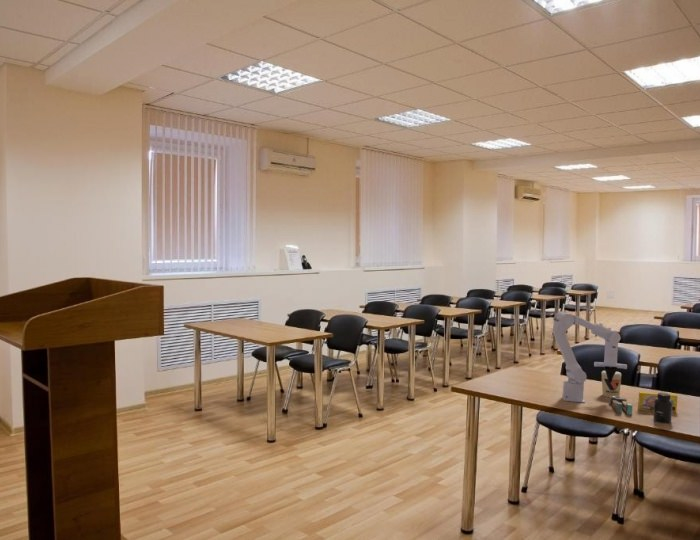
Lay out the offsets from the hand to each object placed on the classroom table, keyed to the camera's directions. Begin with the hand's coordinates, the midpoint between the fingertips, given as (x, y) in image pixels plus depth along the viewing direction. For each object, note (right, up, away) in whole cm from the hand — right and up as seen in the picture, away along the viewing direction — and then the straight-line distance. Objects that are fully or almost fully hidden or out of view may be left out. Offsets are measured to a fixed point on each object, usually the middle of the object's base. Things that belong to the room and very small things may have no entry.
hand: (609, 382), depth 267 cm
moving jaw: (-4, -10, -15) cm, 18 cm away
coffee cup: (+6, -9, +10) cm, 15 cm away
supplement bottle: (+9, -11, -30) cm, 33 cm away
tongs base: (-1, -10, -13) cm, 17 cm away
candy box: (+15, -11, -14) cm, 24 cm away
